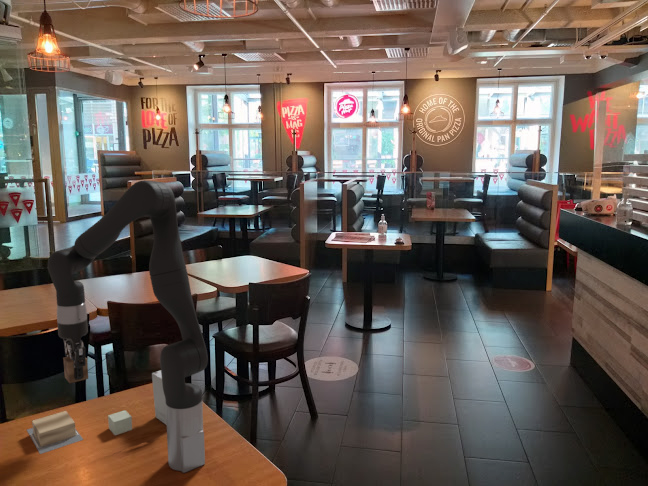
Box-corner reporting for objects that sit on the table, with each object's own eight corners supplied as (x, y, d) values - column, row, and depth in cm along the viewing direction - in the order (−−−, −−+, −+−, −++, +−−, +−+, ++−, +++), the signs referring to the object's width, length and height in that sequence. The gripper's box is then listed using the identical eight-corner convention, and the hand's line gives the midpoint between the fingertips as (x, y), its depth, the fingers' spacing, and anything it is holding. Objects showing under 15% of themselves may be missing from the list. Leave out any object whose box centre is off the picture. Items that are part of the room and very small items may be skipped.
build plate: (83, 442, 145) (83, 439, 144) (40, 456, 137) (40, 453, 137) (67, 419, 156) (67, 417, 156) (26, 432, 149) (26, 429, 149)
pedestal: (75, 435, 146) (74, 422, 146) (40, 447, 141) (39, 433, 140) (66, 423, 153) (66, 410, 152) (33, 433, 147) (32, 420, 147)
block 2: (132, 432, 150) (131, 416, 149) (115, 438, 147) (114, 422, 146) (126, 425, 154) (125, 410, 153) (109, 431, 151) (108, 415, 150)
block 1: (88, 378, 146) (87, 358, 145) (69, 383, 143) (68, 363, 142) (83, 372, 150) (82, 353, 149) (64, 377, 147) (63, 357, 146)
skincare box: (184, 420, 157) (182, 374, 155) (166, 427, 153) (164, 380, 150) (171, 410, 163) (169, 366, 160) (153, 416, 159) (151, 371, 156)
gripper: (94, 322, 140) (97, 380, 143) (79, 309, 151) (83, 364, 154) (64, 328, 136) (68, 388, 139) (51, 314, 146) (55, 370, 149)
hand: (76, 375), depth 146 cm, fingers closed on block 1, 5 cm apart
